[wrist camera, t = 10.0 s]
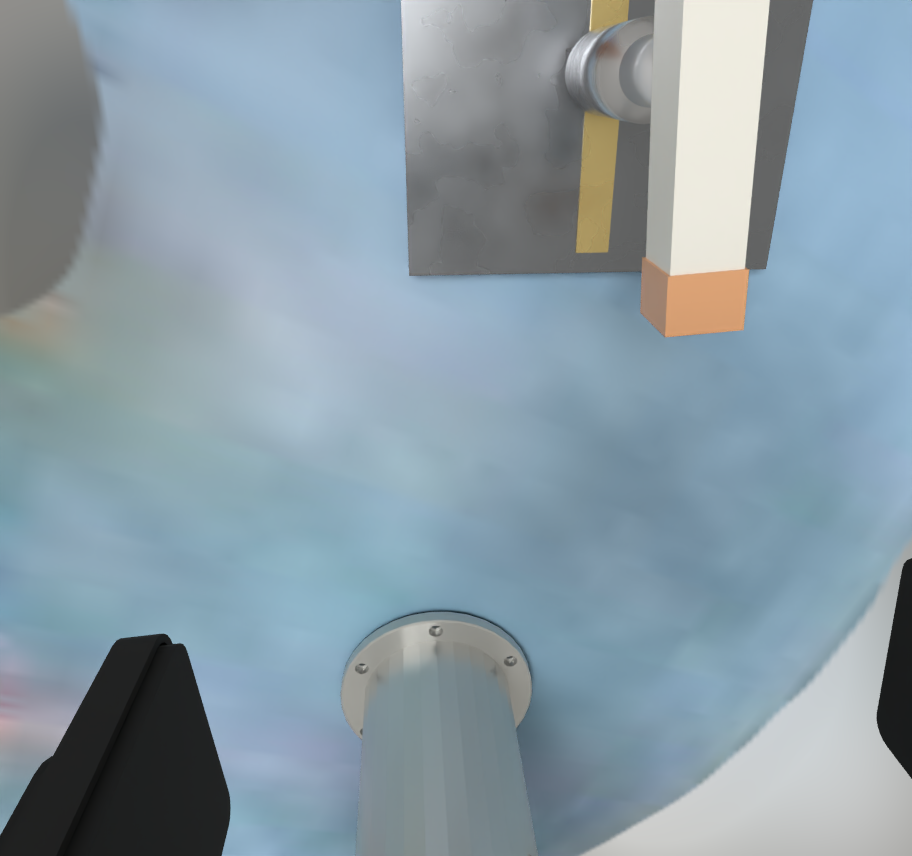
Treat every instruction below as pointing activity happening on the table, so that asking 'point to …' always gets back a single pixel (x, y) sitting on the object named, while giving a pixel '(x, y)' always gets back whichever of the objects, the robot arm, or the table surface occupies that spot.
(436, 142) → the post base
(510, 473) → the table surface
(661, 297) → the t handle
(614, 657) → the table surface
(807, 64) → the table surface
